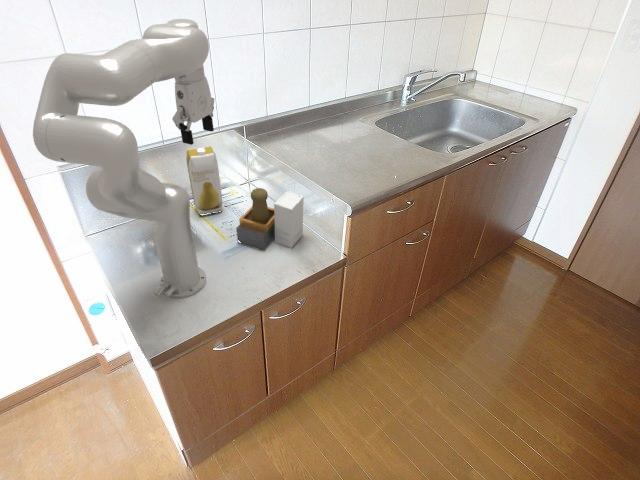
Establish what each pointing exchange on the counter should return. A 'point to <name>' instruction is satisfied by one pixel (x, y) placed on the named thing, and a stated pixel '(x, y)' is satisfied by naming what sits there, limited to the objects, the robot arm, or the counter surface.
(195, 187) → the juice carton
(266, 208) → the olive rounded tall piece
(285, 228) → the skincare box
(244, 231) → the grey open box
